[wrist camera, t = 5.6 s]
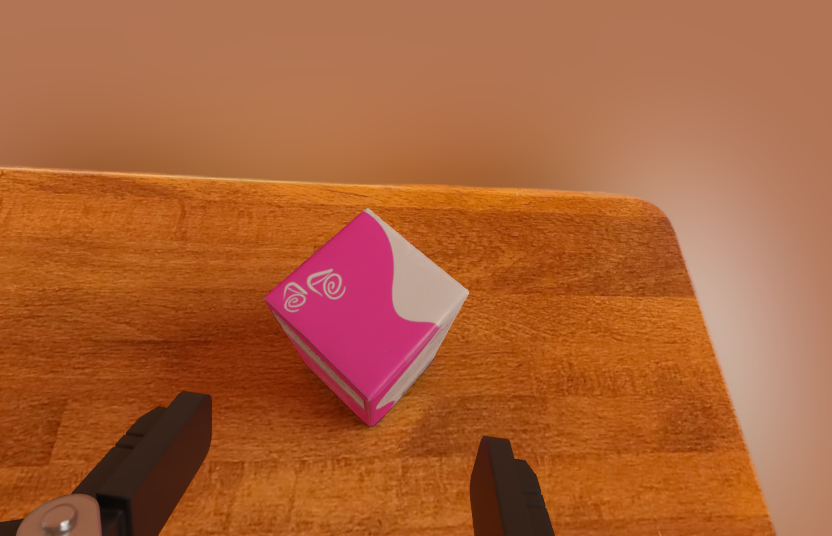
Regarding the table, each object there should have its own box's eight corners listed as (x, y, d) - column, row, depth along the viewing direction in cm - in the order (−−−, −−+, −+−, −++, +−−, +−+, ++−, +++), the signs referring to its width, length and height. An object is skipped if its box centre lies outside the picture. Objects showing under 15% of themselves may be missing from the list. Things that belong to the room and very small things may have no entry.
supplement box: (367, 296, 29) (370, 200, 18) (435, 358, 27) (480, 294, 17) (299, 361, 26) (258, 295, 16) (370, 432, 25) (376, 410, 15)
